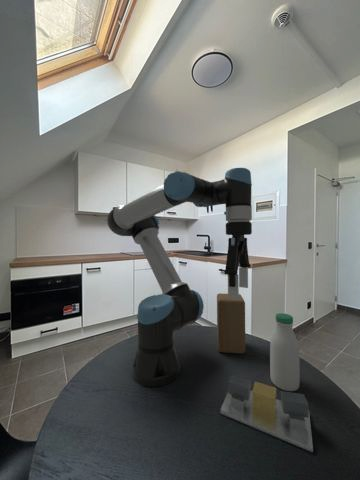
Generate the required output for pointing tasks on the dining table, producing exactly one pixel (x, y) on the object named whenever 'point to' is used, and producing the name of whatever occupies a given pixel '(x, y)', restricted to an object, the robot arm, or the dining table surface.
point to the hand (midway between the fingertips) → (238, 292)
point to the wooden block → (230, 324)
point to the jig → (284, 427)
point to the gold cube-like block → (264, 400)
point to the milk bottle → (284, 354)
